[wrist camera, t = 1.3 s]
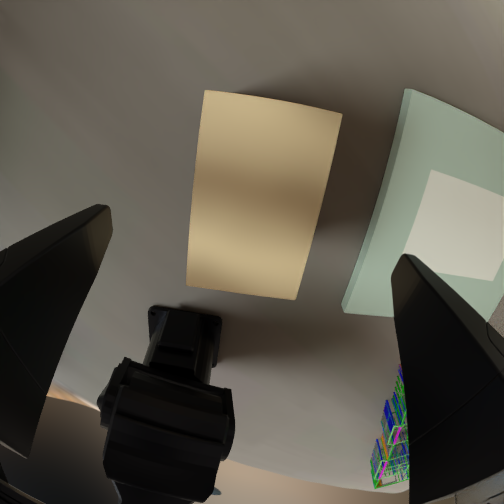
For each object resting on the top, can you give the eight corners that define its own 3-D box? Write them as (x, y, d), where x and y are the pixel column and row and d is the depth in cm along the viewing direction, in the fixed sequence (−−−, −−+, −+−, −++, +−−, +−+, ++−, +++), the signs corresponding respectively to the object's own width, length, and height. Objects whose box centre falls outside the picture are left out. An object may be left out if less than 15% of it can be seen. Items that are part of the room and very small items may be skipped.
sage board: (482, 315, 27) (487, 322, 26) (341, 303, 26) (344, 312, 25) (546, 162, 19) (554, 166, 18) (404, 88, 18) (412, 89, 17)
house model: (391, 363, 31) (403, 397, 27) (558, 302, 28) (575, 322, 24) (366, 469, 48) (370, 489, 43) (490, 426, 45) (497, 442, 40)
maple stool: (285, 241, 23) (295, 300, 17) (203, 230, 23) (186, 285, 17) (314, 105, 19) (342, 114, 13) (221, 90, 18) (204, 90, 12)
